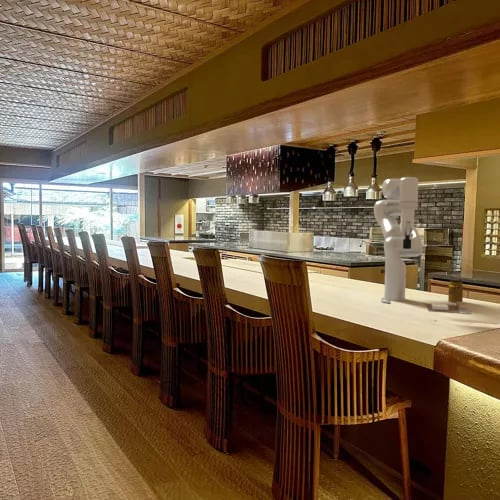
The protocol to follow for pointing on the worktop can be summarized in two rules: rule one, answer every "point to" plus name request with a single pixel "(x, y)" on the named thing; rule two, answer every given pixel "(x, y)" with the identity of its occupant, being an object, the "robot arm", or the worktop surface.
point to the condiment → (455, 291)
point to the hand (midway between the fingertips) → (406, 248)
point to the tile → (439, 306)
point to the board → (450, 310)
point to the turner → (462, 308)
